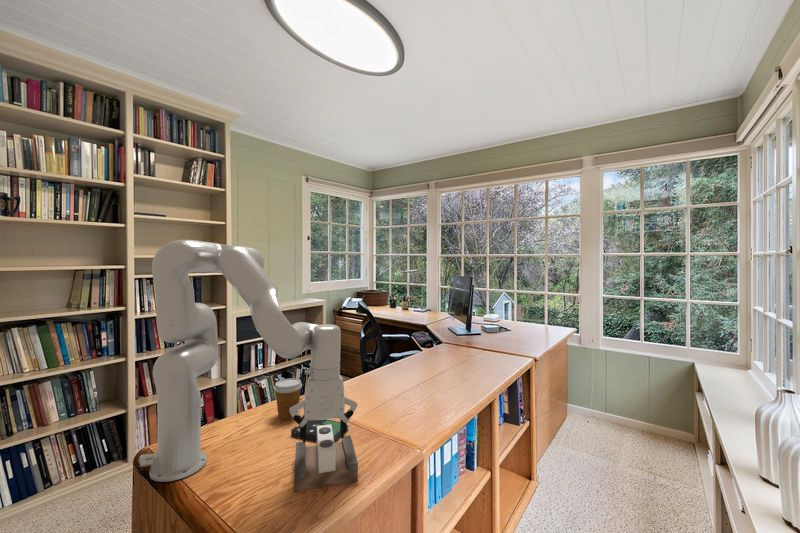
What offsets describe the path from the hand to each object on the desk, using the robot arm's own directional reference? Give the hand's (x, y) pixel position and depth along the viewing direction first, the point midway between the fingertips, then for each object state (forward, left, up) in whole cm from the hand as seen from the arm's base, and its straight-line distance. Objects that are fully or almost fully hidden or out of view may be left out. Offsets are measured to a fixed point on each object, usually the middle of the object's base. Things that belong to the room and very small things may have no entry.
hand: (323, 437), depth 87 cm
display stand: (+1, 0, -8) cm, 8 cm away
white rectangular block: (+1, +1, -5) cm, 5 cm away
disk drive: (0, +20, -9) cm, 22 cm away
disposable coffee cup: (-10, +35, -9) cm, 37 cm away
